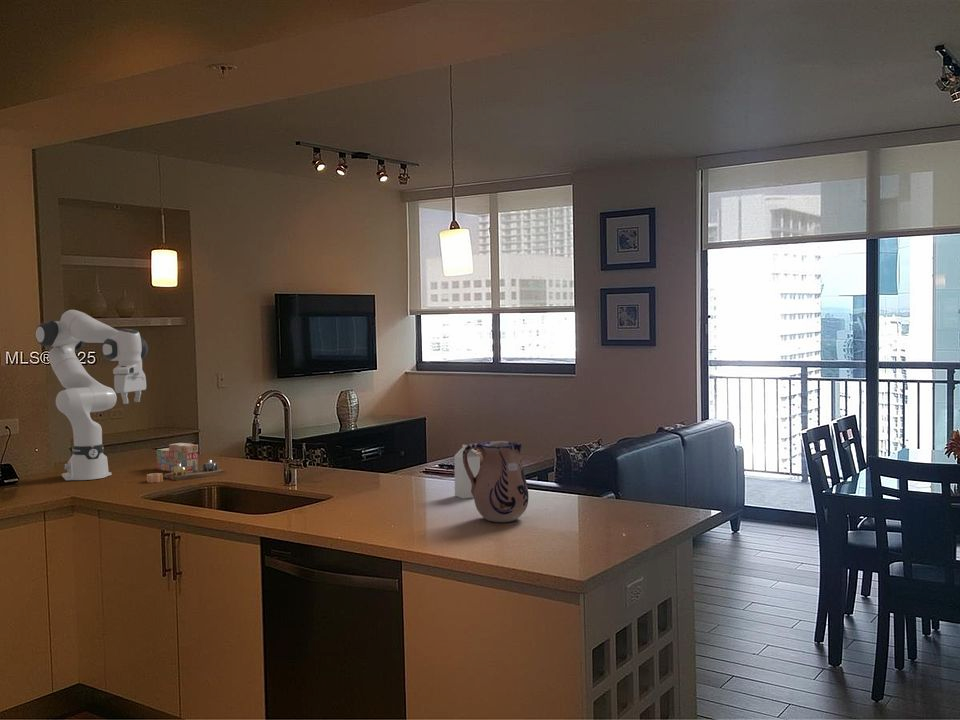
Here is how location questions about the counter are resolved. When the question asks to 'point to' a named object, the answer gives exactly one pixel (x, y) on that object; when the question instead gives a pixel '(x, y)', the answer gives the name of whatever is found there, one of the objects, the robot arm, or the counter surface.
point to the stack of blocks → (177, 456)
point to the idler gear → (155, 477)
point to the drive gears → (183, 469)
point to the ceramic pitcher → (498, 481)
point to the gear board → (193, 473)
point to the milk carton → (461, 475)
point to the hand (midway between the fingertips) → (131, 402)
